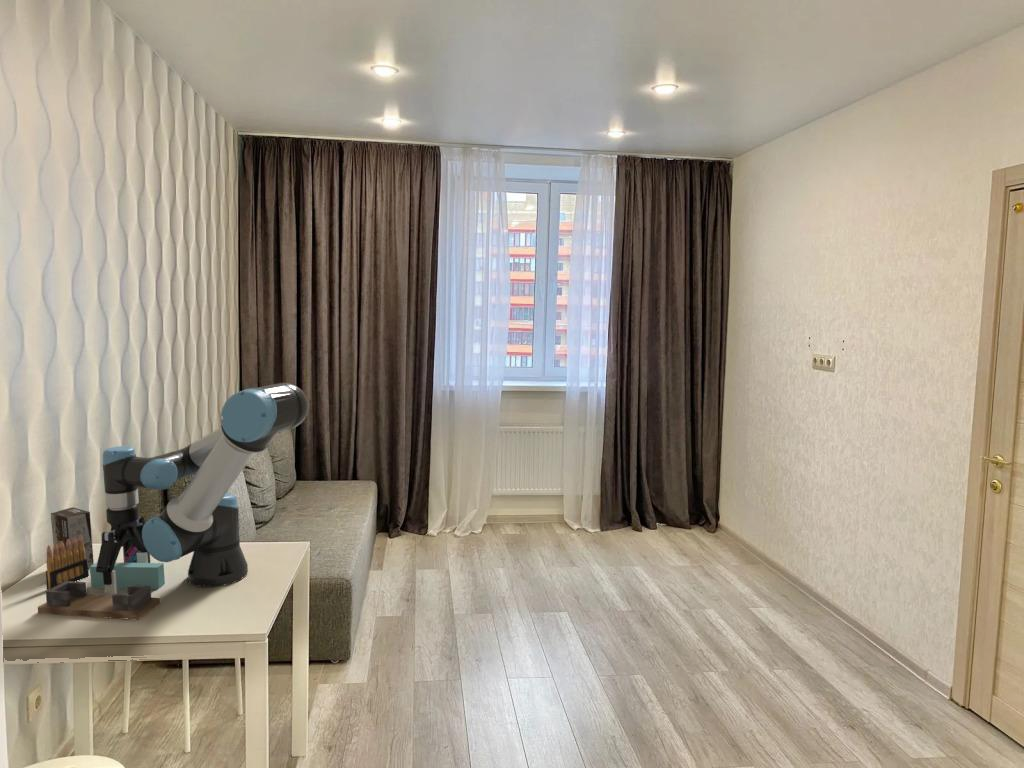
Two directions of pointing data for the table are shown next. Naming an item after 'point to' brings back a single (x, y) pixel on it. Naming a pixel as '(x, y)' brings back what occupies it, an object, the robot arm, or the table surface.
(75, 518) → the coffee box
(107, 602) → the frame
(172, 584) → the table surface
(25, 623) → the table surface
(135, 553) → the supplement container
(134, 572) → the slat
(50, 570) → the ammunition clip
